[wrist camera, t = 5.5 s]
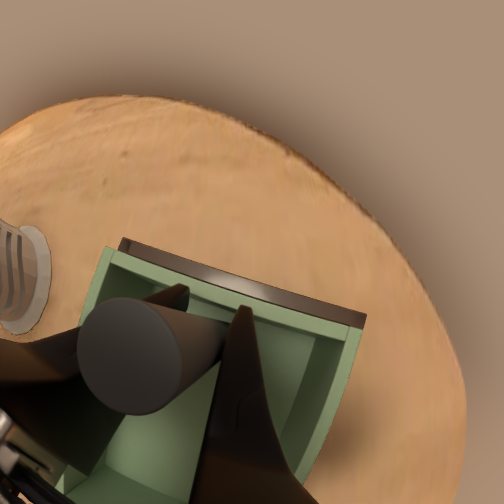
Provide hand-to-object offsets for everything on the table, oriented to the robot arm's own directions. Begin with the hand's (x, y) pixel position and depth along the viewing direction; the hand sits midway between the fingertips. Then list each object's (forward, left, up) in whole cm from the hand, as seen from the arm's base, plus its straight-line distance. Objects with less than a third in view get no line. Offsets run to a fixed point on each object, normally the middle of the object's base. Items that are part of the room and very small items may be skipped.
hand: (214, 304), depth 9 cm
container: (-5, -5, -7) cm, 10 cm away
